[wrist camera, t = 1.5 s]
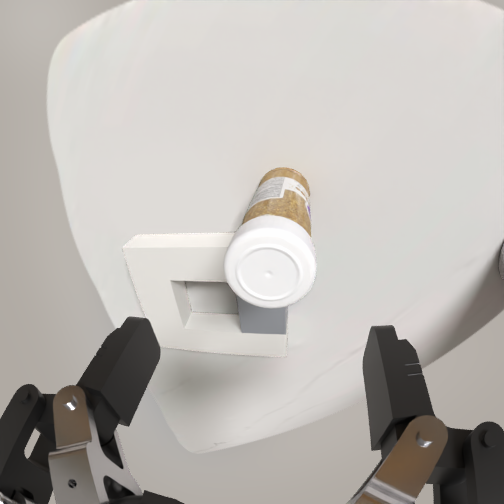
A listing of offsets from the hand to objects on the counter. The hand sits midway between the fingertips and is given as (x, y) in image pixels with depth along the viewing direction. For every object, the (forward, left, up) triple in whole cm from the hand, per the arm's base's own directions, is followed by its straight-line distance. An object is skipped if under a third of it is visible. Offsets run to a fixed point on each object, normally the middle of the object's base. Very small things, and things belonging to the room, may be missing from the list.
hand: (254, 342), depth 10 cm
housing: (+8, +11, -18) cm, 22 cm away
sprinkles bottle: (0, 0, -18) cm, 18 cm away
